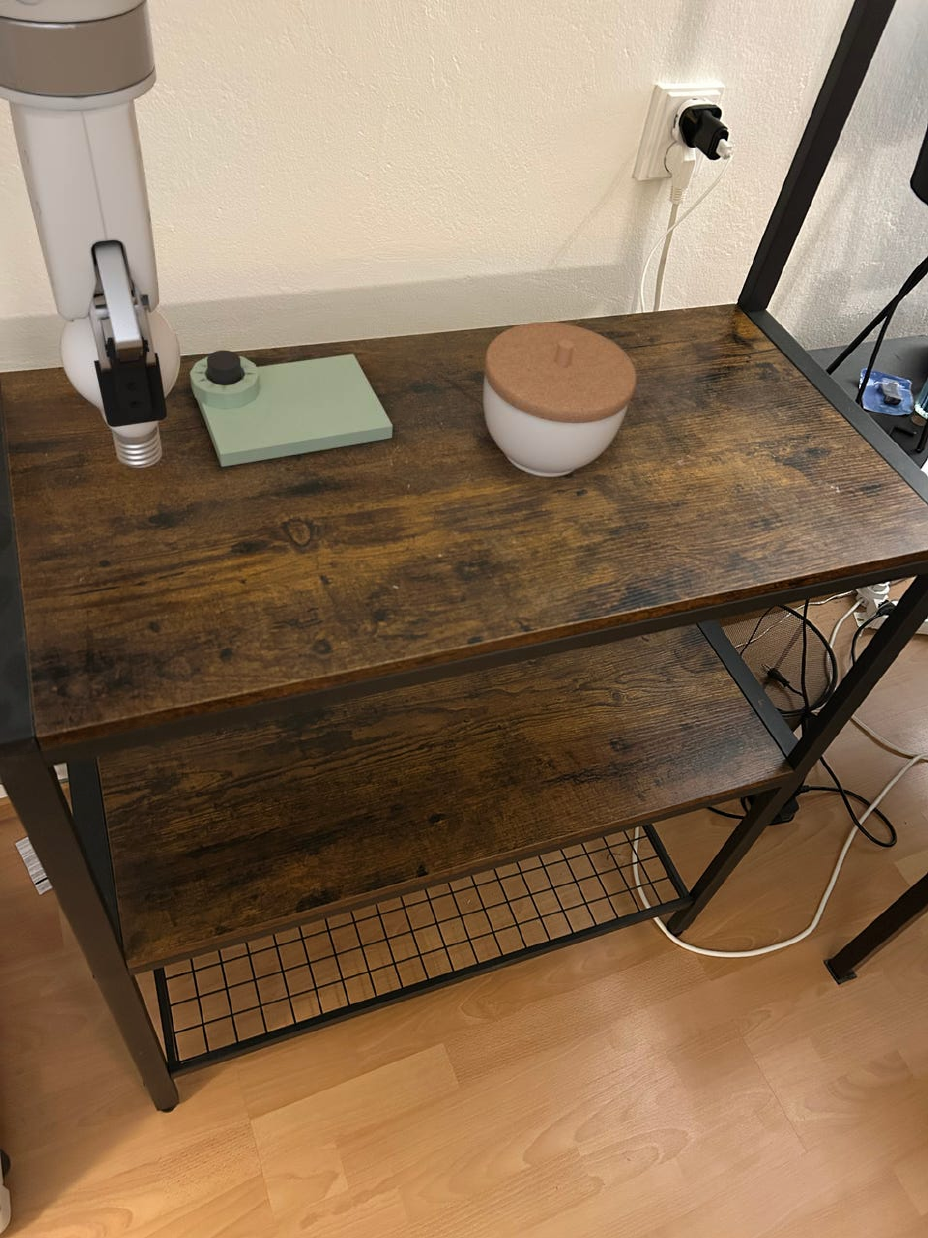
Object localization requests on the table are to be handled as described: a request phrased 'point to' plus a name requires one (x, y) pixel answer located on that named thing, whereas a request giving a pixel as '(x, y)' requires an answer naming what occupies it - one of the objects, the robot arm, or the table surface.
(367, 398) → the green dial base
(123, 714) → the table surface
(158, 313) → the lightbulb
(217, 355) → the tare button
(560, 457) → the lidded bowl
